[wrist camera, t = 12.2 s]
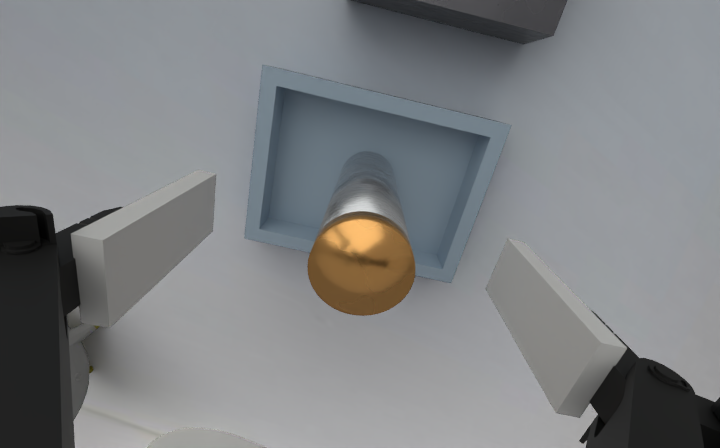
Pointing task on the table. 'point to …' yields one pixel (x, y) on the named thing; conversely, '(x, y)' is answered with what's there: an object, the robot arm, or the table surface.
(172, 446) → the tissue box
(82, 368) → the alarm clock
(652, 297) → the table surface
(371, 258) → the steel pin
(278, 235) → the tray
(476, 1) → the block
